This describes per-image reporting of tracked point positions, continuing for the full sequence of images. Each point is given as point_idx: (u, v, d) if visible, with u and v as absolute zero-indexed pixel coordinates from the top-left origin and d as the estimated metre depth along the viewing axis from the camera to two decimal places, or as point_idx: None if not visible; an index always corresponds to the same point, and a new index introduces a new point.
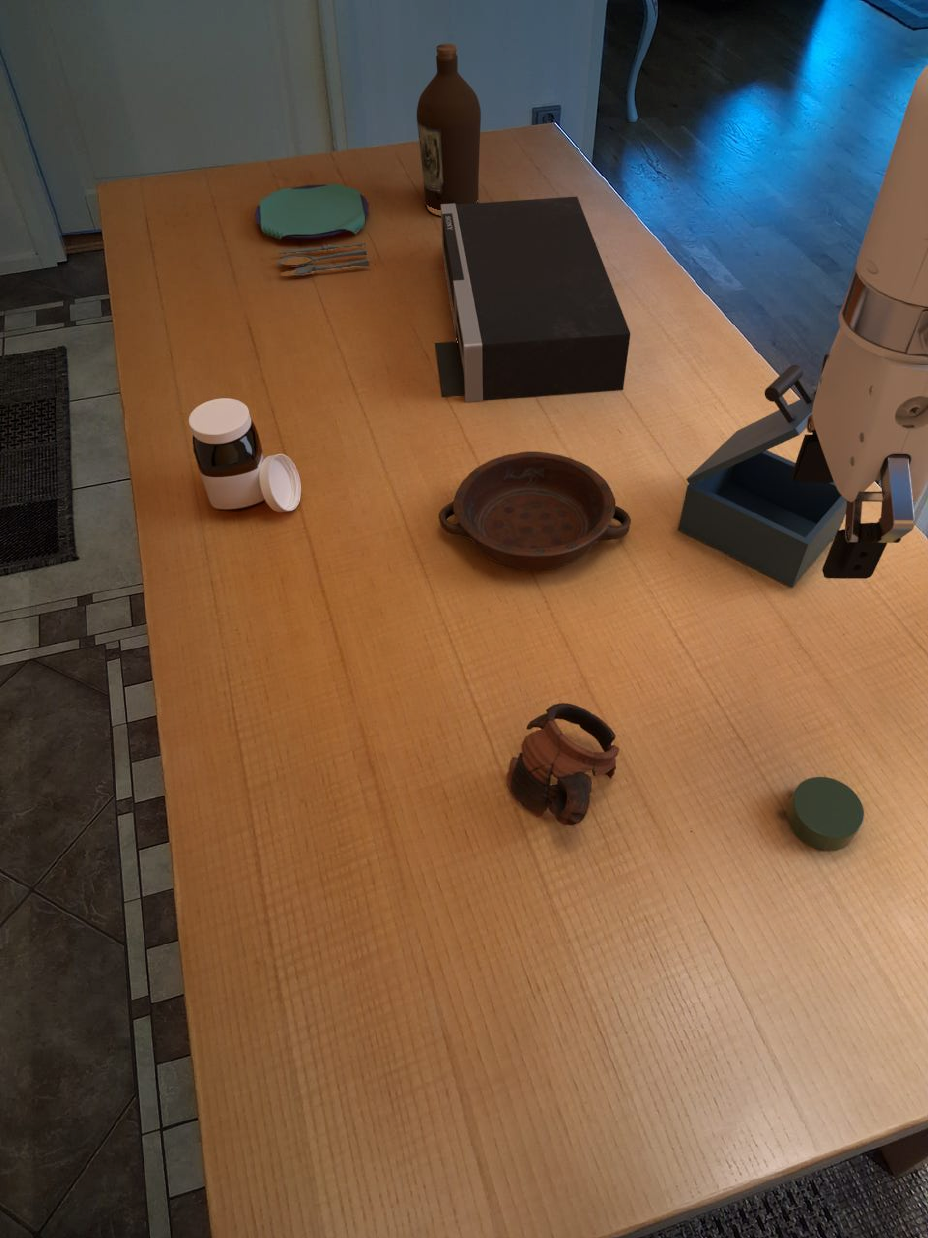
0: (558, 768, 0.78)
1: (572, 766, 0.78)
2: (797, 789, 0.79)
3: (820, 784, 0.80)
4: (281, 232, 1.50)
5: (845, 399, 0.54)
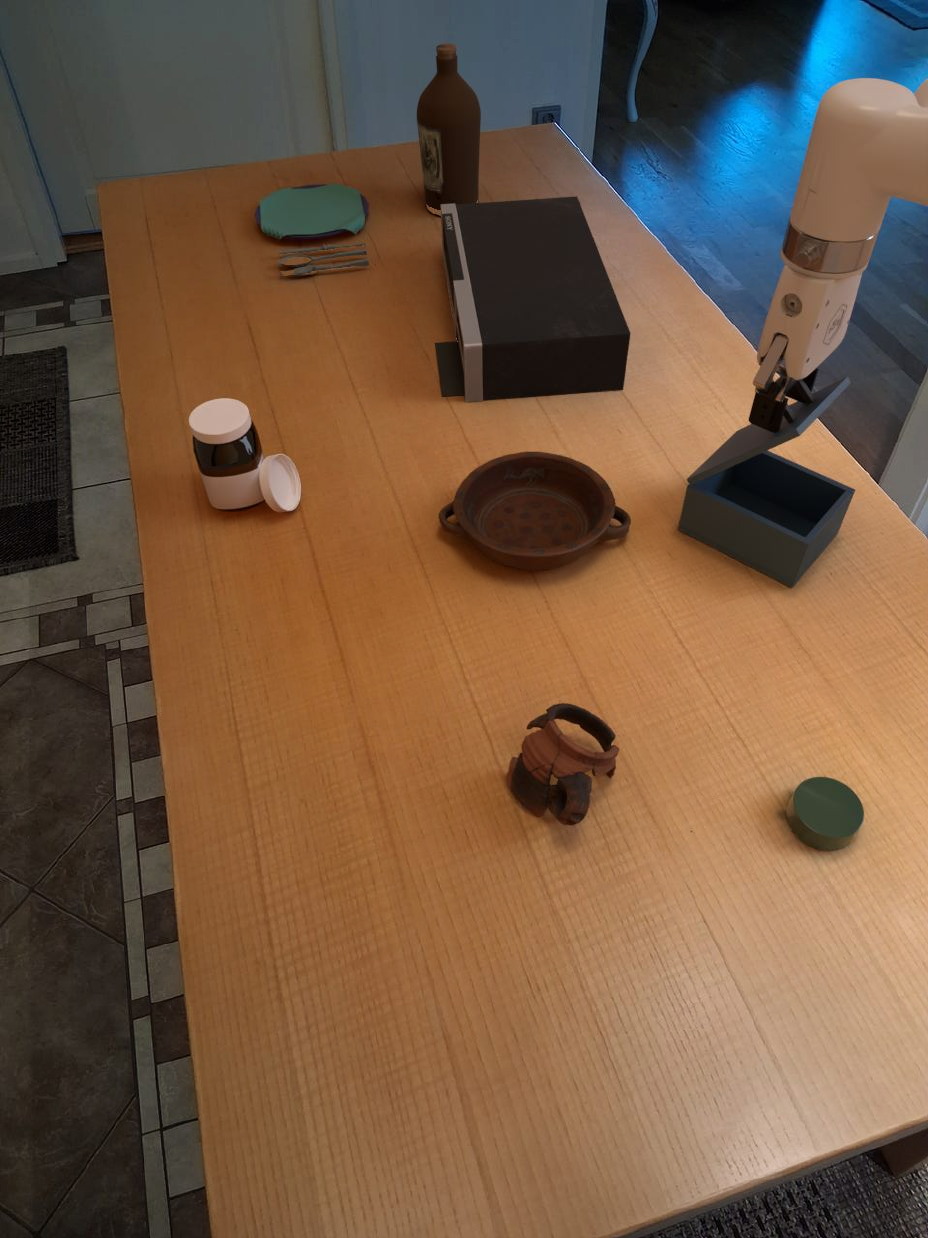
0: (558, 768, 0.78)
1: (572, 766, 0.78)
2: (797, 789, 0.79)
3: (820, 784, 0.80)
4: (281, 232, 1.50)
5: None
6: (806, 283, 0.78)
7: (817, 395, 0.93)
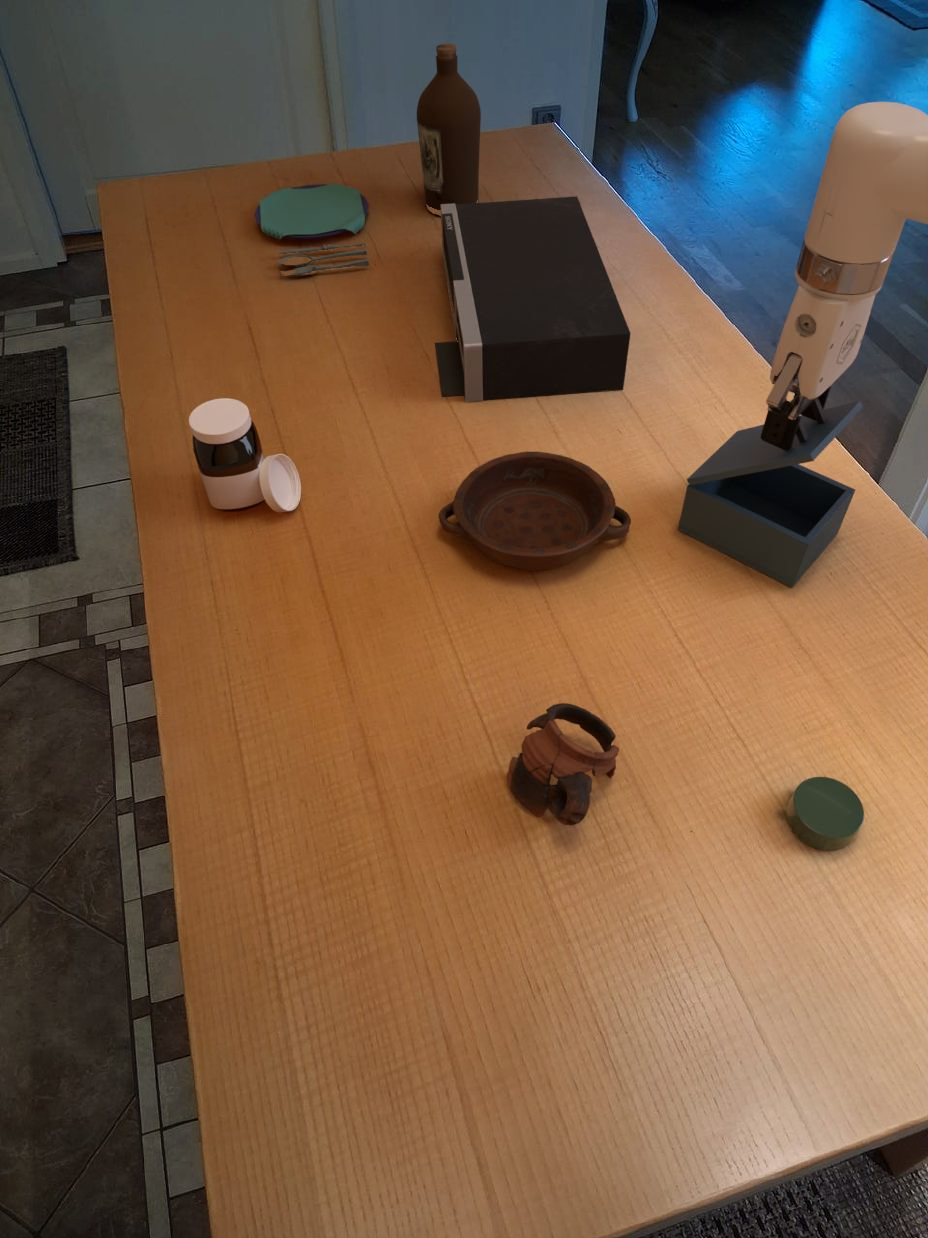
0: (558, 768, 0.78)
1: (572, 766, 0.78)
2: (797, 789, 0.79)
3: (820, 784, 0.80)
4: (281, 232, 1.50)
5: None
6: (821, 304, 0.78)
7: (828, 415, 0.93)
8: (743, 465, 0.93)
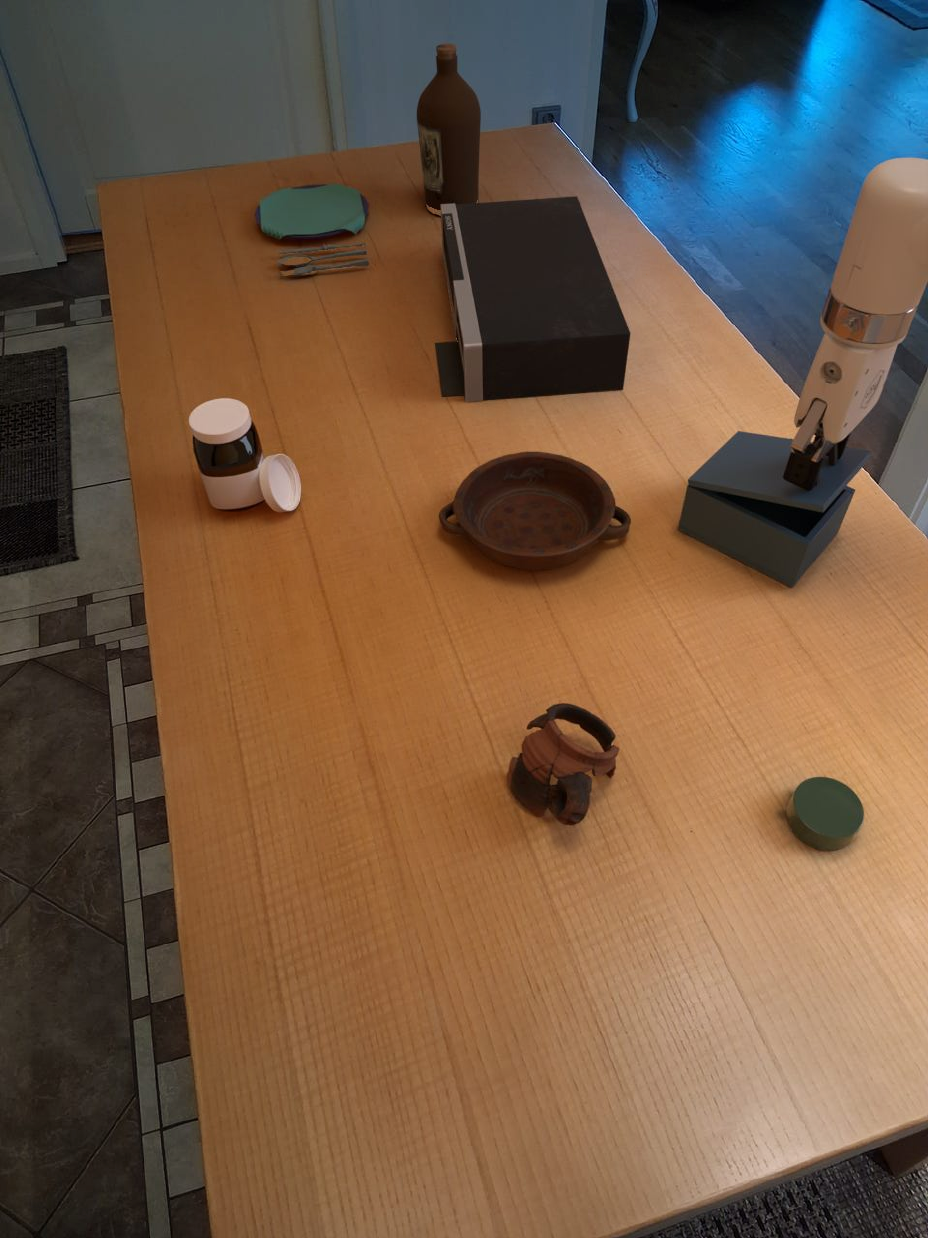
0: (558, 768, 0.78)
1: (572, 766, 0.78)
2: (797, 789, 0.79)
3: (820, 784, 0.80)
4: (281, 232, 1.50)
5: None
6: (847, 353, 0.79)
7: None
8: (750, 488, 0.95)
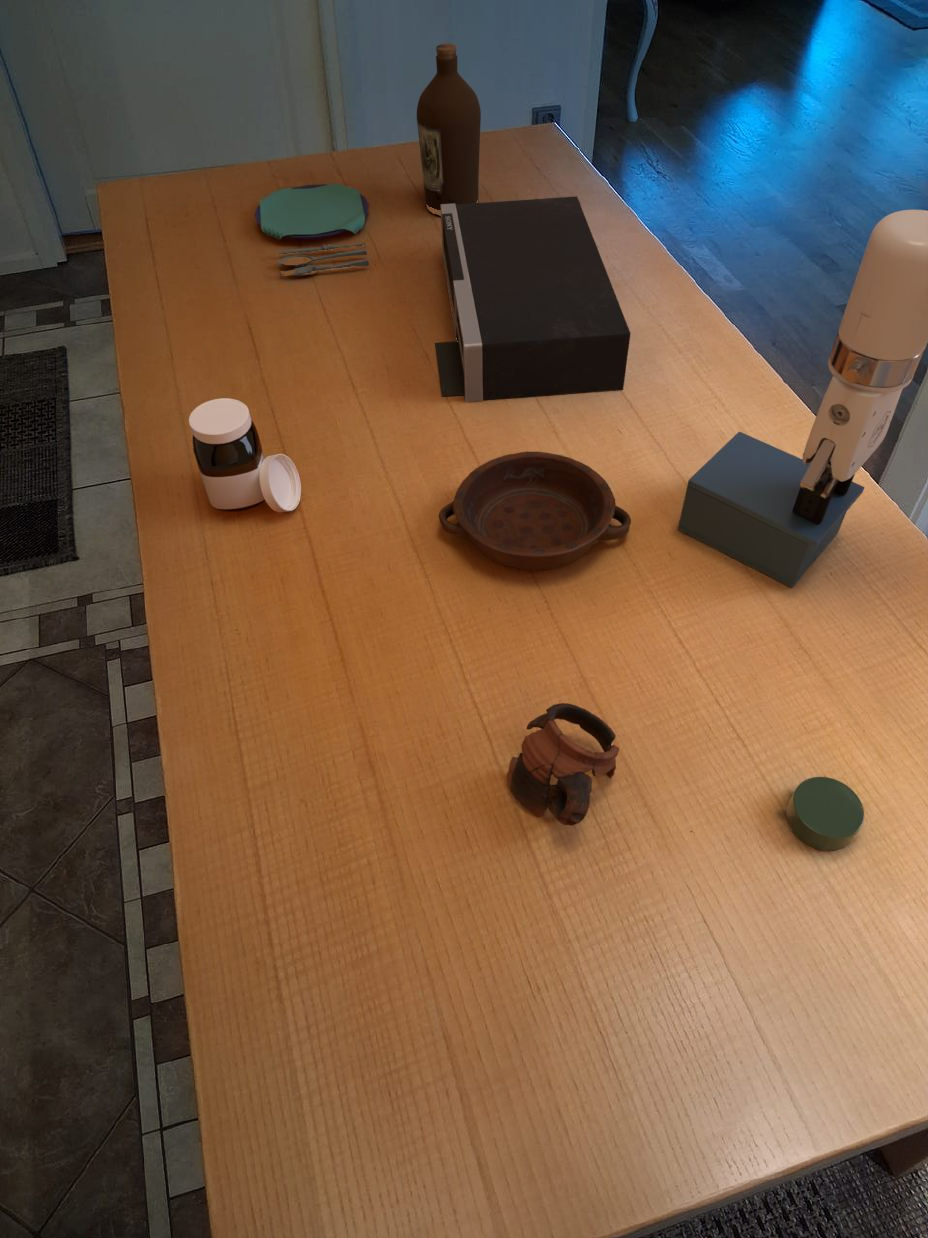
0: (558, 768, 0.78)
1: (572, 766, 0.78)
2: (797, 789, 0.79)
3: (820, 784, 0.80)
4: (281, 232, 1.50)
5: None
6: (854, 396, 0.81)
7: None
8: (750, 505, 0.96)
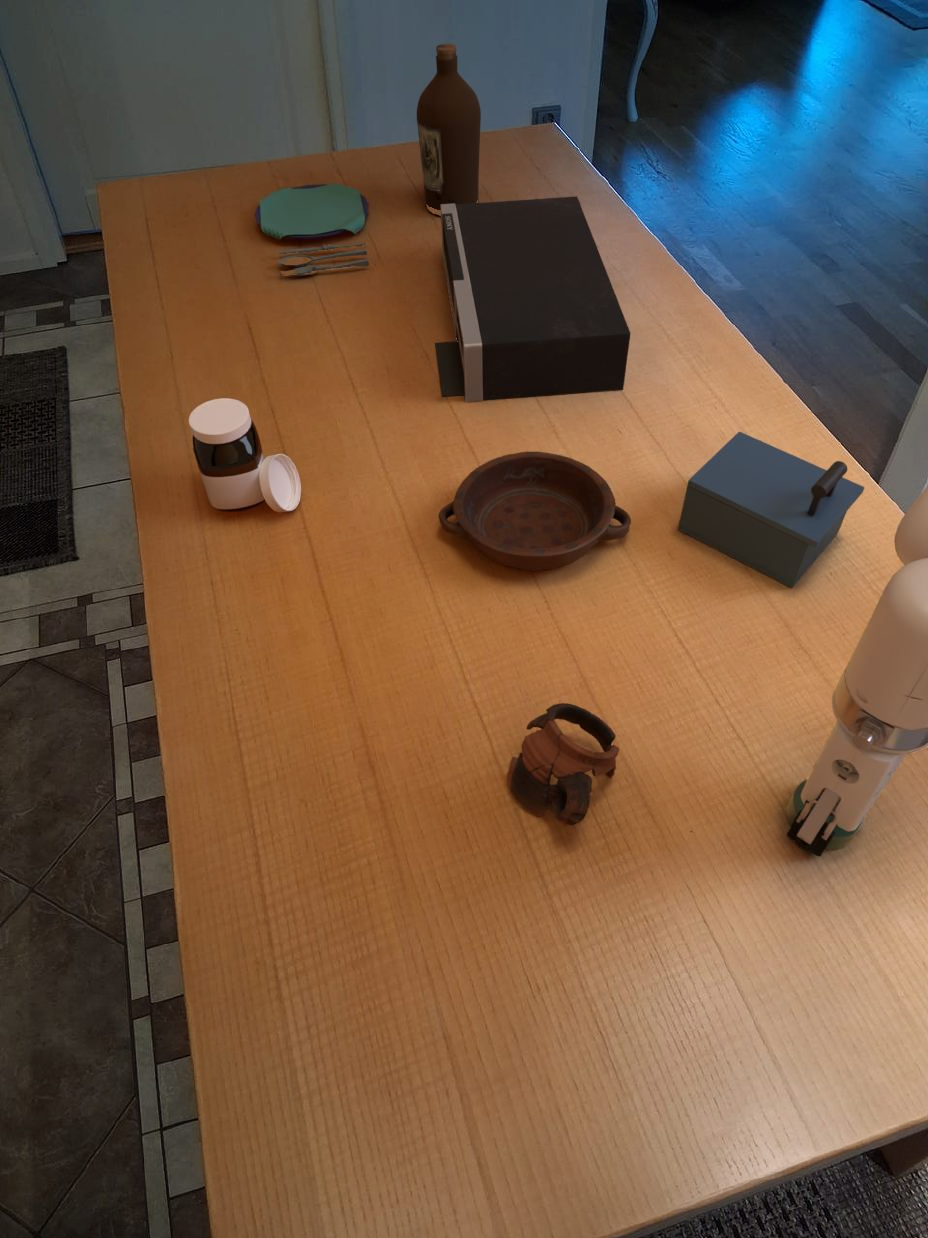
0: (558, 768, 0.78)
1: (572, 766, 0.78)
2: (797, 789, 0.79)
3: None
4: (281, 232, 1.50)
5: None
6: (865, 758, 0.65)
7: None
8: (750, 505, 0.96)
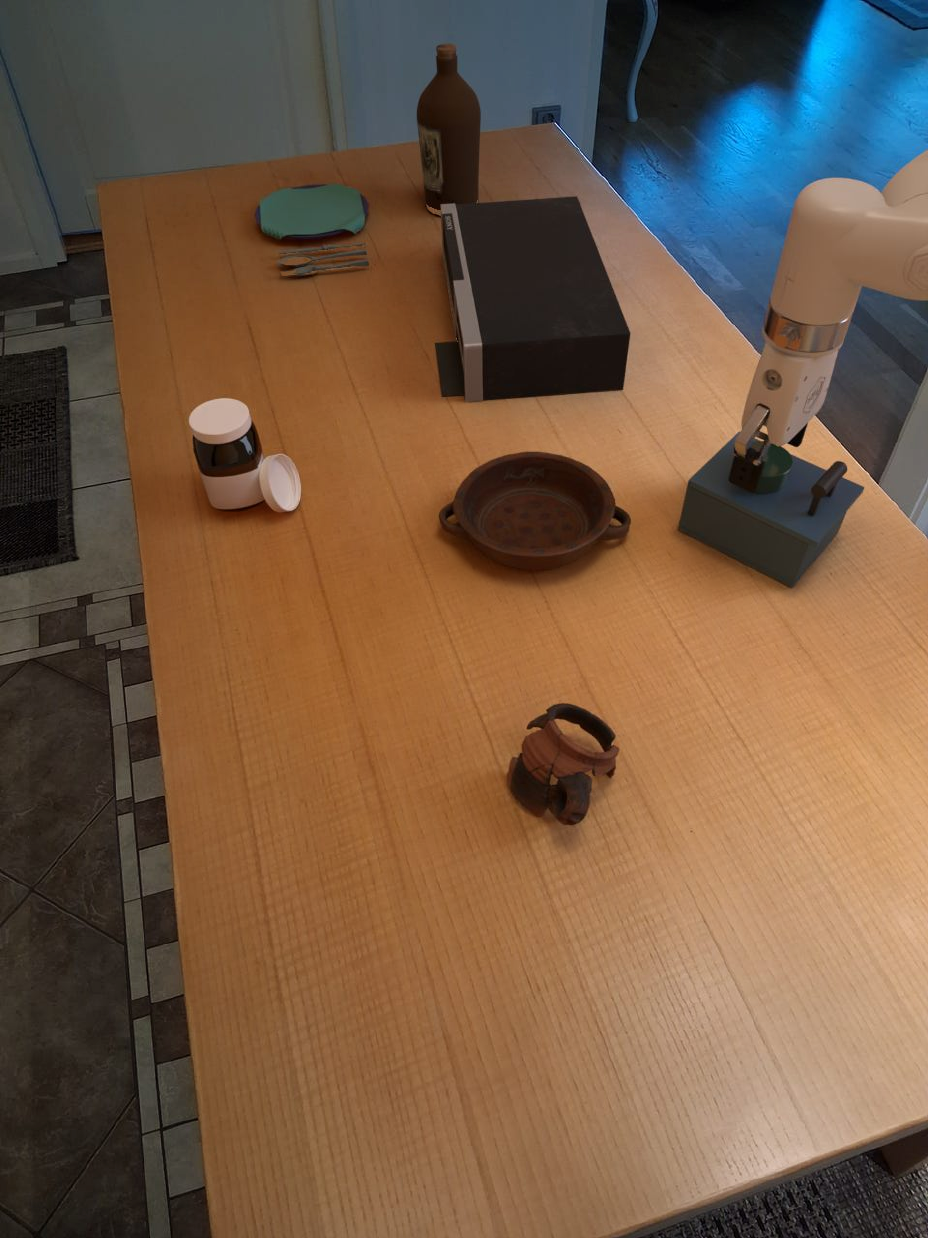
0: (558, 768, 0.78)
1: (572, 766, 0.78)
2: None
3: (759, 445, 0.99)
4: (281, 232, 1.50)
5: None
6: (785, 361, 0.83)
7: None
8: (750, 505, 0.96)
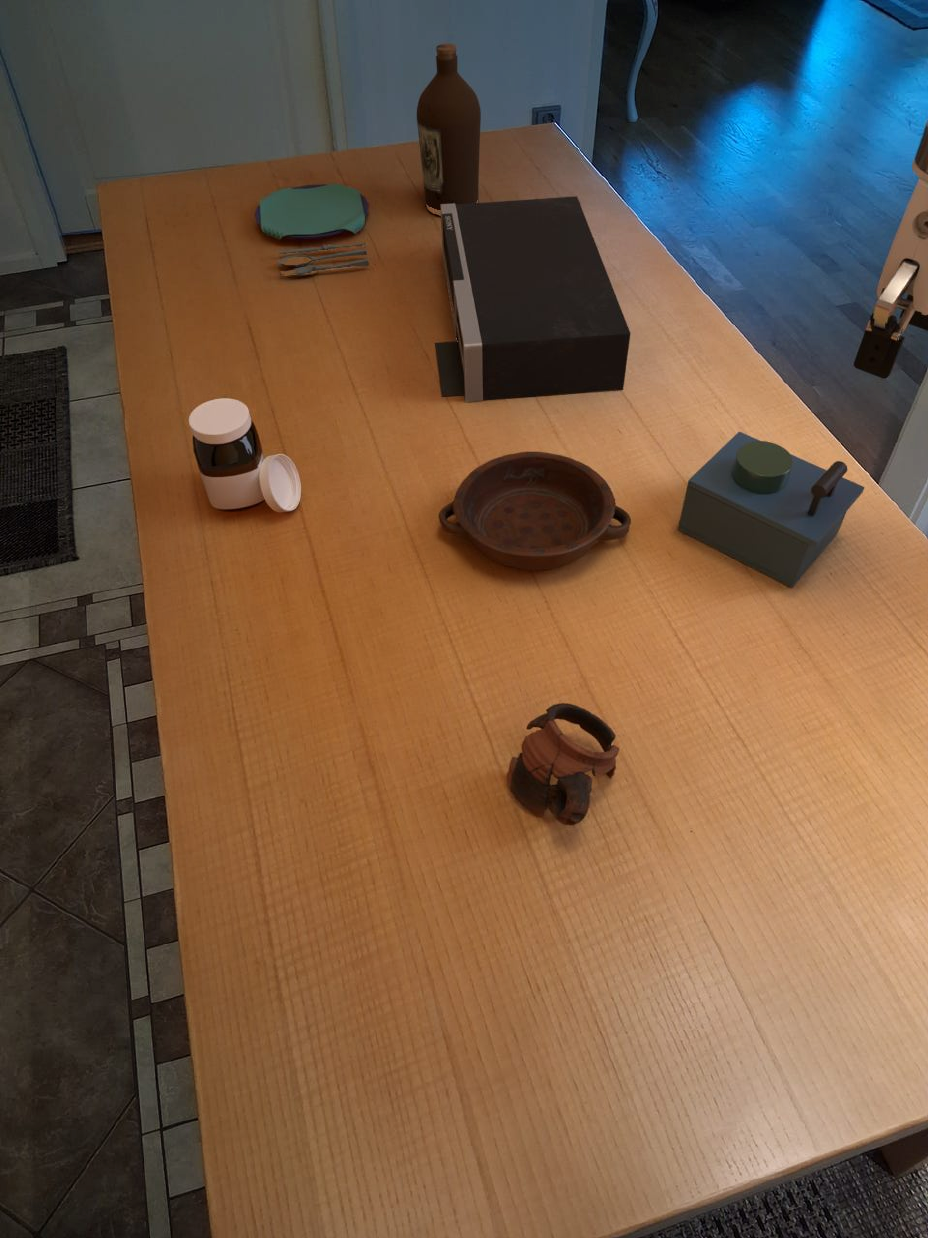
0: (558, 768, 0.78)
1: (572, 766, 0.78)
2: (740, 448, 0.98)
3: (759, 445, 0.99)
4: (281, 232, 1.50)
5: None
6: None
7: None
8: (750, 505, 0.96)
